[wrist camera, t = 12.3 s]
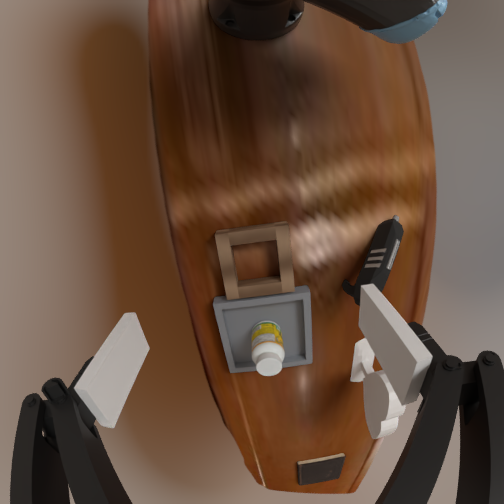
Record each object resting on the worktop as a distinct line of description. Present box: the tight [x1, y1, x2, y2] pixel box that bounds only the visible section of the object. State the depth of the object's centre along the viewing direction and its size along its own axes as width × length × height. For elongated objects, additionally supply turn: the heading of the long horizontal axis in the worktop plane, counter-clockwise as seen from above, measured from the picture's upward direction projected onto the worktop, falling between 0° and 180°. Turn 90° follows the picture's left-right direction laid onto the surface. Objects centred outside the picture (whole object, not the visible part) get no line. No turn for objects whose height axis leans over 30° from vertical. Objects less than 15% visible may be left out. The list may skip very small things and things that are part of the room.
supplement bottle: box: [252, 321, 285, 376], centre depth 43 cm, size 5×5×10 cm
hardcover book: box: [297, 453, 346, 485], centre depth 70 cm, size 16×23×2 cm
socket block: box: [215, 221, 295, 300], centre depth 43 cm, size 11×11×2 cm
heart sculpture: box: [350, 338, 406, 439], centre depth 44 cm, size 16×5×18 cm, turn 7°
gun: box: [342, 215, 404, 306], centre depth 42 cm, size 3×16×10 cm, turn 147°
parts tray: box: [213, 285, 312, 373], centre depth 47 cm, size 16×16×2 cm
